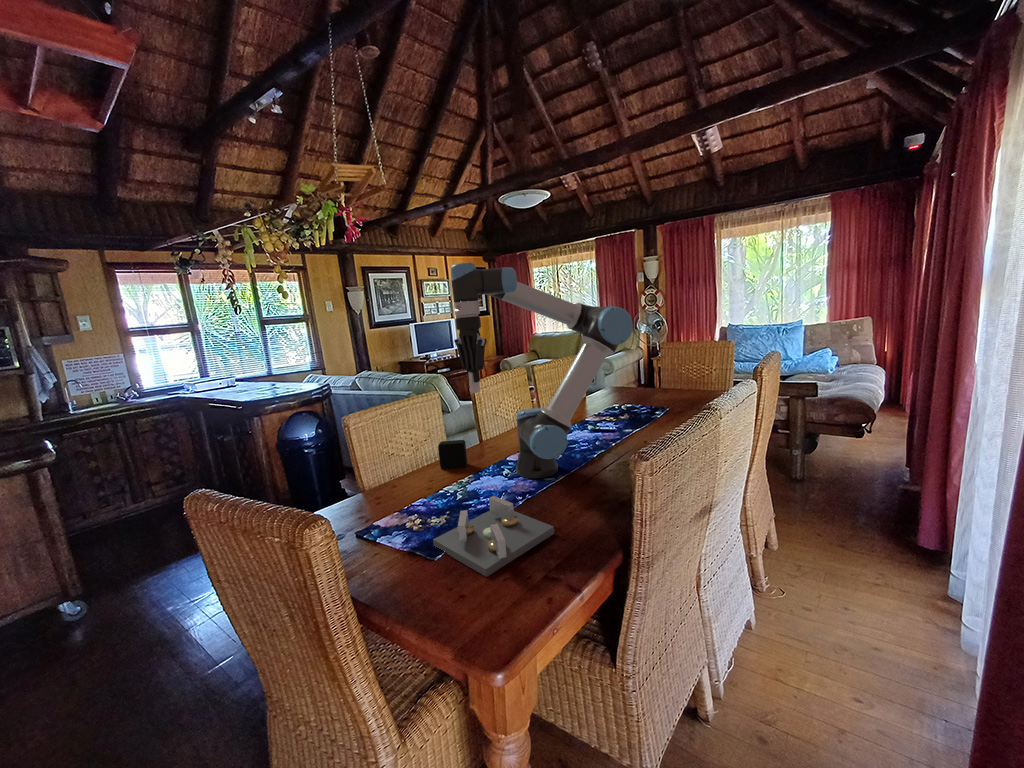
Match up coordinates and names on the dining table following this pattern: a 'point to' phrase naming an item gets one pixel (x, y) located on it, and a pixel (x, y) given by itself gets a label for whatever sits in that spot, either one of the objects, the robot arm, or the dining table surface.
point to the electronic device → (452, 454)
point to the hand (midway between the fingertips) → (475, 392)
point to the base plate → (476, 545)
